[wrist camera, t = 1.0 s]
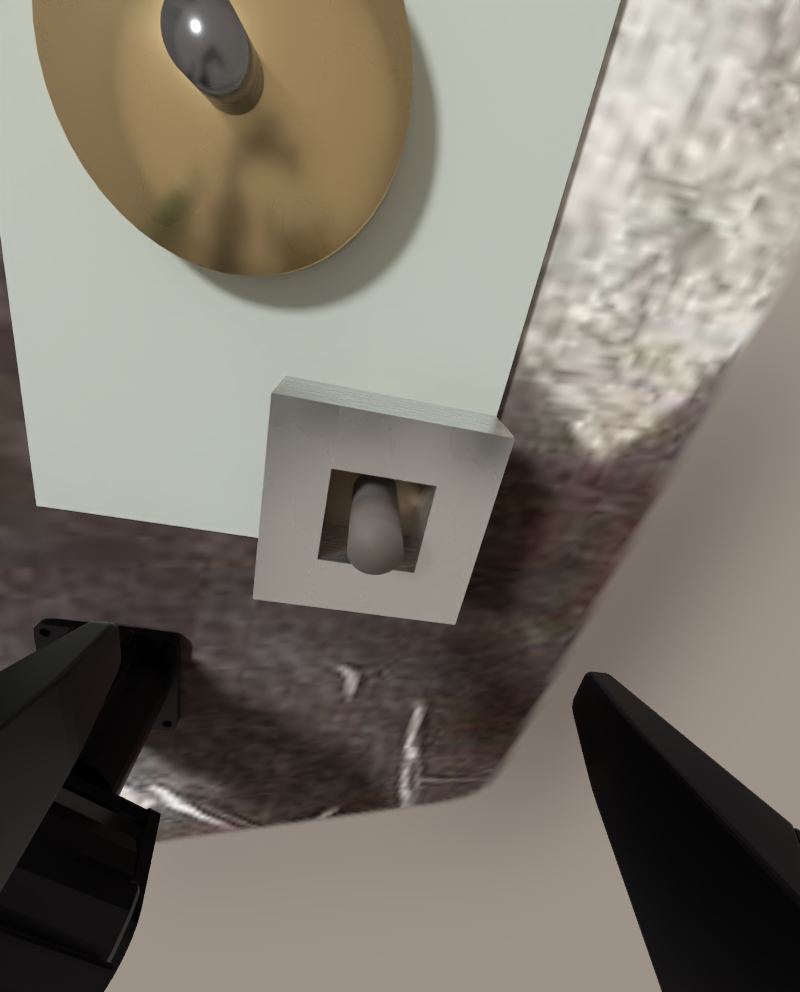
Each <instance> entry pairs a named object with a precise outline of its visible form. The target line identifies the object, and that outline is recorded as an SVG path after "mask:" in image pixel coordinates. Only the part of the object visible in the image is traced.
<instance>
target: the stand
mask: <svg viewBox="0 0 800 992" xmlns="http://www.w3.org/2000/svg"><path fill="white" fill-rule="evenodd" d="M421 486H422V484H420V483H415V482H409V481H403V480H397V479H391V478H385V477H379V476H373V475H367V474H361V473H355V472H349V471H343V470H337V469H333V470H332V477H331V483H330V490H329V496H328V503H327V509H326V515H325V522H324V524H331V525H337V526H344V527H349V533H348V544H347V556H348V559H349V561H350V563H351V564H352V565H353V566H354V567H355V568H356V569H357V570H359V571H360V572H363V573H365V574H369V575H381V574H385V573H388V572H390V571H392V570H393V569H395V568H396V567H397V566H398V565H399V563H400V562H401V560H402V558H403V554H404V546H403V537H402V535H403V536H409V535H410V530H411V526H412V522H413V518H414V514H415V510H416V506H417V502H418V498H419V494H420V490H421Z"/></svg>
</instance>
